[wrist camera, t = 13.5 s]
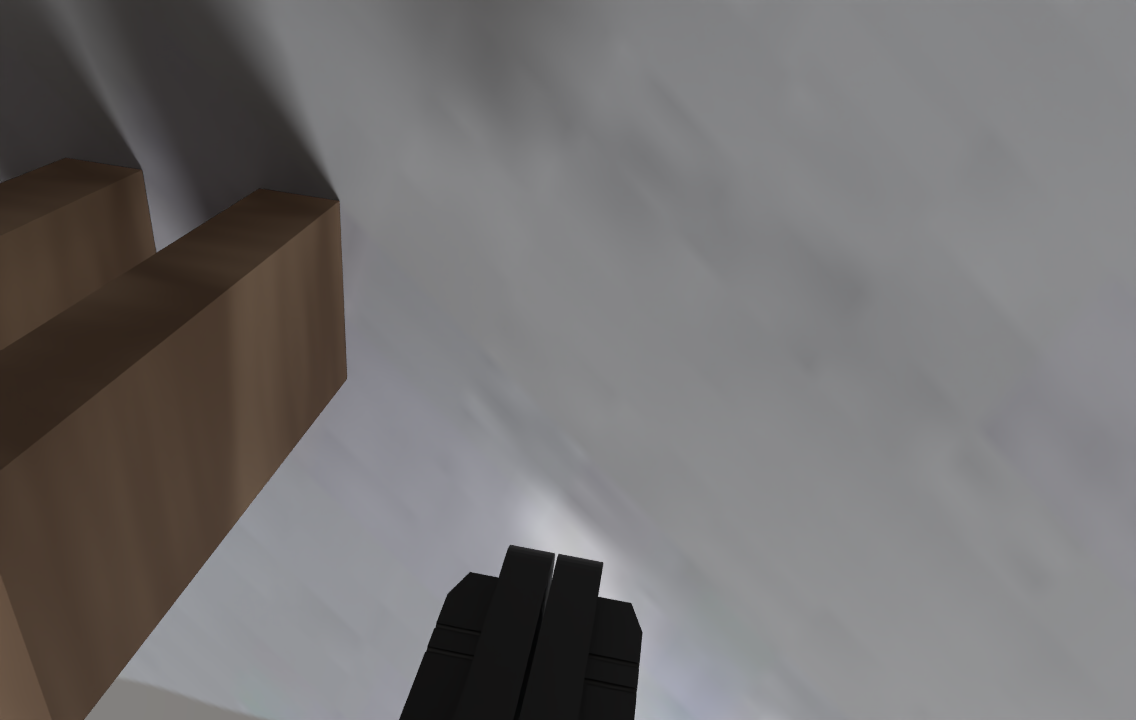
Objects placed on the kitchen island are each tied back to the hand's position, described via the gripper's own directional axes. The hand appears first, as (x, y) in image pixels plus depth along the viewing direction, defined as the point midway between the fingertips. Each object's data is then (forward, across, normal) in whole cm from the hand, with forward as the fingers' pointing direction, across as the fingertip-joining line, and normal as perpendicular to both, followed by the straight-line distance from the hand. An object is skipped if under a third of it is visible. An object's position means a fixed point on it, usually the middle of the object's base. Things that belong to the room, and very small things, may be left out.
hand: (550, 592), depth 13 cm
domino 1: (+8, +8, 0) cm, 11 cm away
